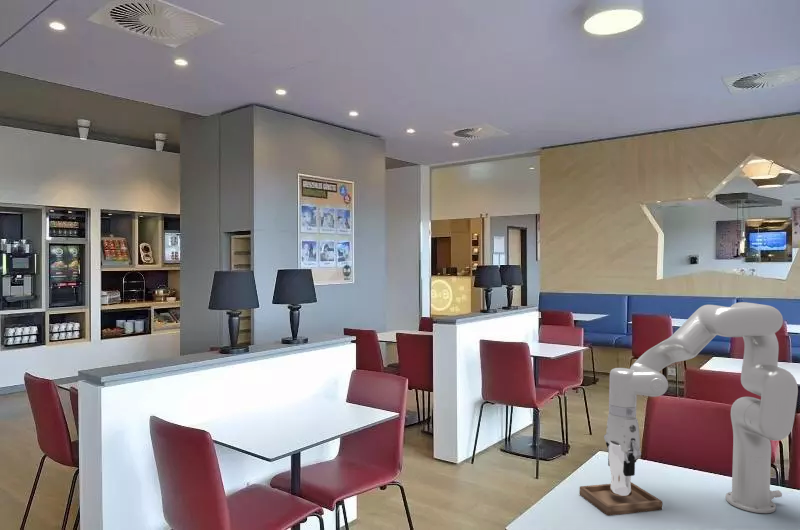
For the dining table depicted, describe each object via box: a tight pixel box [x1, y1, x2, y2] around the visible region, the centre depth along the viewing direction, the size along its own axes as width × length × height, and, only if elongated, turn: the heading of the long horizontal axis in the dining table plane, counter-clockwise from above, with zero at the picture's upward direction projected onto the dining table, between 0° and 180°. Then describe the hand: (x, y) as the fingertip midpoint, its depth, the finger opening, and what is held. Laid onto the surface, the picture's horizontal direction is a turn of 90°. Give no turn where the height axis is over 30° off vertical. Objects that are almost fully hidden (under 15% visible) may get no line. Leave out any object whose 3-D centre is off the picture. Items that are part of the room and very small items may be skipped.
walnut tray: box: [578, 481, 663, 517], centre depth 164 cm, size 18×14×2 cm
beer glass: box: [609, 440, 632, 497], centre depth 164 cm, size 7×7×15 cm
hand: (621, 470), depth 164 cm, fingers closed on beer glass, 6 cm apart
